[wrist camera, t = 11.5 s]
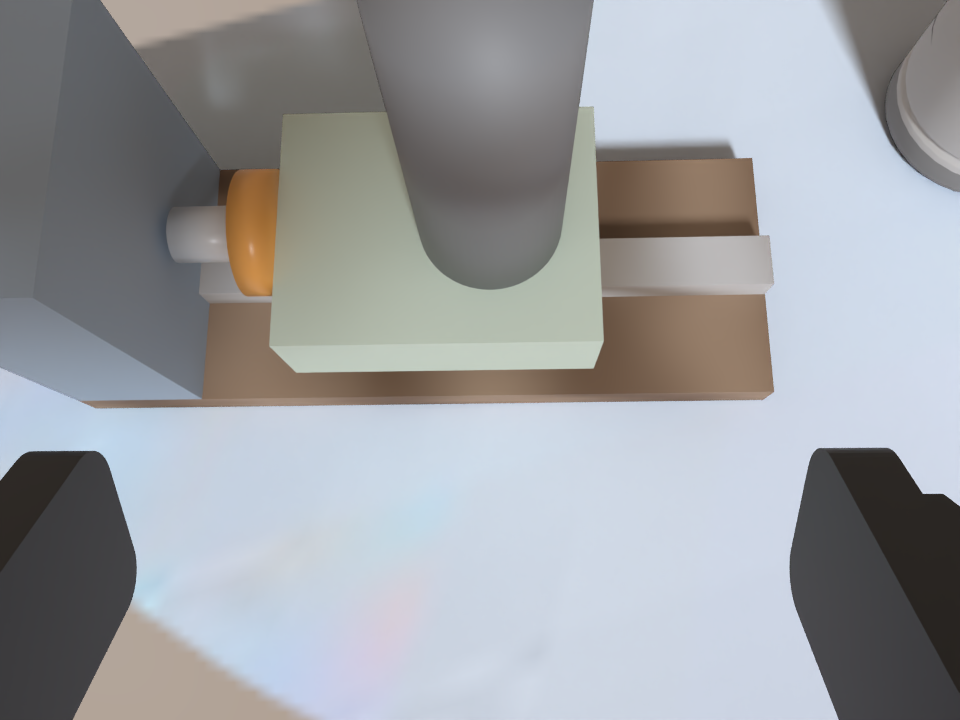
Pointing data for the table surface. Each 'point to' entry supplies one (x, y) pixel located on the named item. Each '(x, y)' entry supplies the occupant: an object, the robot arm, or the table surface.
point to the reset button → (232, 231)
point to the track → (625, 304)
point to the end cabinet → (94, 211)
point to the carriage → (446, 200)
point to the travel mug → (930, 101)
